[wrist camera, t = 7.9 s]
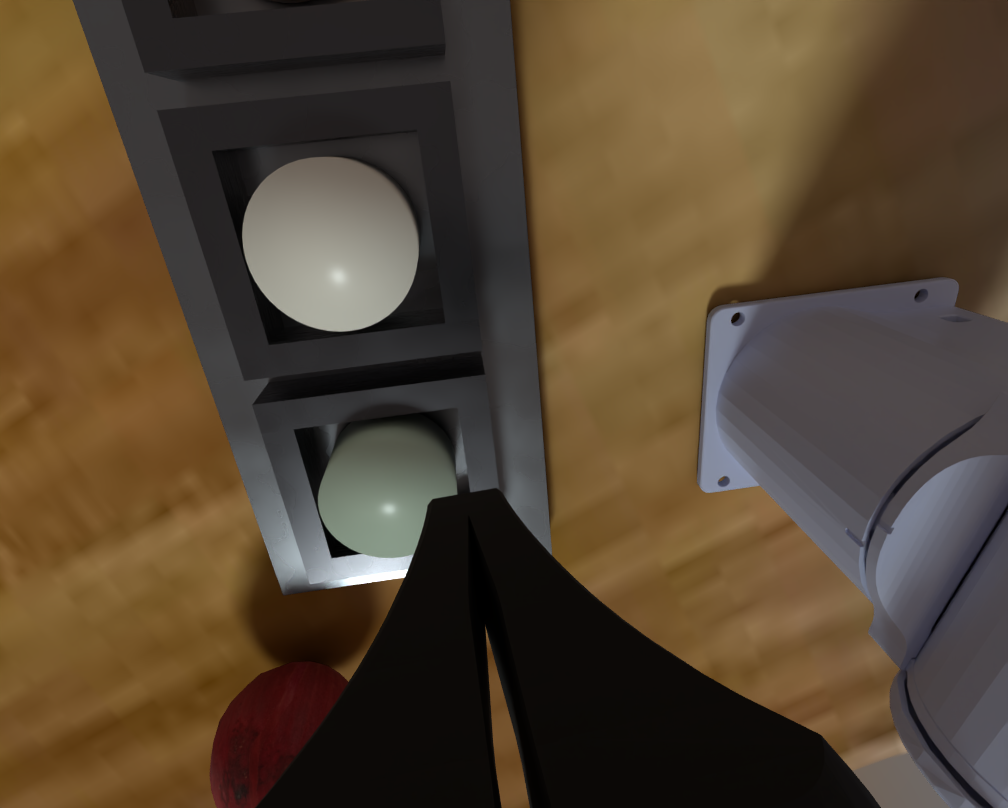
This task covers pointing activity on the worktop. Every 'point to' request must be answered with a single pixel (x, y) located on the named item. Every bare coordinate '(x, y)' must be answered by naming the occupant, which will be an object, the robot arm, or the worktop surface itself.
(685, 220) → the worktop surface
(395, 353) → the tray
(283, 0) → the button terracotta
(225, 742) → the onion
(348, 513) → the button sage
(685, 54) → the worktop surface
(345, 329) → the button cream
